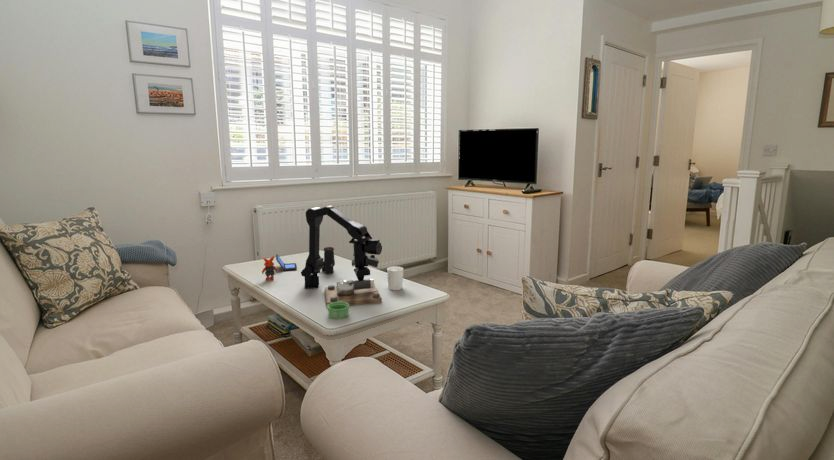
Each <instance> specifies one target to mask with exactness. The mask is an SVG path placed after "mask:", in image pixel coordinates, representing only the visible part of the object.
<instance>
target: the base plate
mask: <svg viewBox="0 0 834 460" xmlns="http://www.w3.org/2000/svg"><path fill="white" fill-rule="evenodd" d="M324 294H325V295H324V296H325V300H326V306H328V304H330V303H333V302H346V303H348V304H349V306H356V305H357V306H358V305H368V304H370V305H371V304H381V303H382V301H383V300H382V297H381V294H380V292H379V290H378V288H377V287H376V285H375V283H374V288H369V289H360V290H354V294H352V295H346V296H343V295H338V294H337V286H335V285H333V284H332V285H331V284H330V285H328V286H325V287H324Z"/></svg>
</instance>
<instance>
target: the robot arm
mask: <svg viewBox="0 0 834 460" xmlns="http://www.w3.org/2000/svg"><path fill="white" fill-rule="evenodd" d="M324 216H328V217H329V218H330V219H332V220H333V221H334V222H336V223H337V224H338V225H340V226H341V227H343V228H344V229H345V230H346V232H347V234H348V235H349V236H350V237H351V239H350V240H349V241H348V244H353V247H352V248H353V255H352V256H353V259H352V260H351V266H352V267H354V268H353V272H354V273H355V276H356V278H357V280H365V276H371V270H370V268H369V266H371V267H374V268H378V266H379V259H378V258H376V256H375V255H377V256H379V255H381V254H382V251H383V245H382V243H381V242H380V239H373V237H372V236H371V234H370V233H369V231H368V228H367V226H365V225H364V224H362V223H359V222H356V221H354V220H352V219H350V218H349V217H347V216H346V215H345V214H344V213H342V212H340V210H338V209H336V208H335V207H334V206H333V205H326V206H324V207H319V206H316V207H315V206H314V207H312V208H308V209H307V210H306V211H305V221H306V222H307V225H308V227H309V229H308V231H309V237H308V256H307V258H306V260H305V266H304V268H303V269H302V270H301V271H300V273H301V274H300V275H301V276H302V277H303V278H304V289H317V288H319V286H320V276H319V275H318V274H319V273H321V271H322V267H323V266H324V264H323V261H324V257H322V256H321V255H320V238H321V237H320V236H321V235H320V232H321V231H320V228H321V224H322V222H323V219H324ZM367 254H368V255H369V256H368V255H367Z"/></svg>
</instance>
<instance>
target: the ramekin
mask: <svg viewBox="0 0 834 460" xmlns="http://www.w3.org/2000/svg"><path fill="white" fill-rule="evenodd" d="M326 306H327V305H326ZM349 308H350V305H349V304H348V303H346V302H333V303H330V304H328V306H327V311H328V312H327V313H328V317H330V318H331V319H334V320H335V319H344V318H347V317H348V315H349Z"/></svg>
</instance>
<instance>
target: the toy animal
mask: <svg viewBox="0 0 834 460" xmlns="http://www.w3.org/2000/svg"><path fill="white" fill-rule="evenodd" d="M262 259H263V261H264V263H263V265H264V267H263V269H262V271H261V273H262V275H264V274H265V275H264V276H266V277H265V281H268V282H269V281H274V279H275V278H274V275H275V272H278V268H277V267H276V266H274V265H275V263H274V262H273V261H274V260H275V259H276V256H272V257H270V258H269V259H267V258H265V257H263V258H262Z"/></svg>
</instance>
